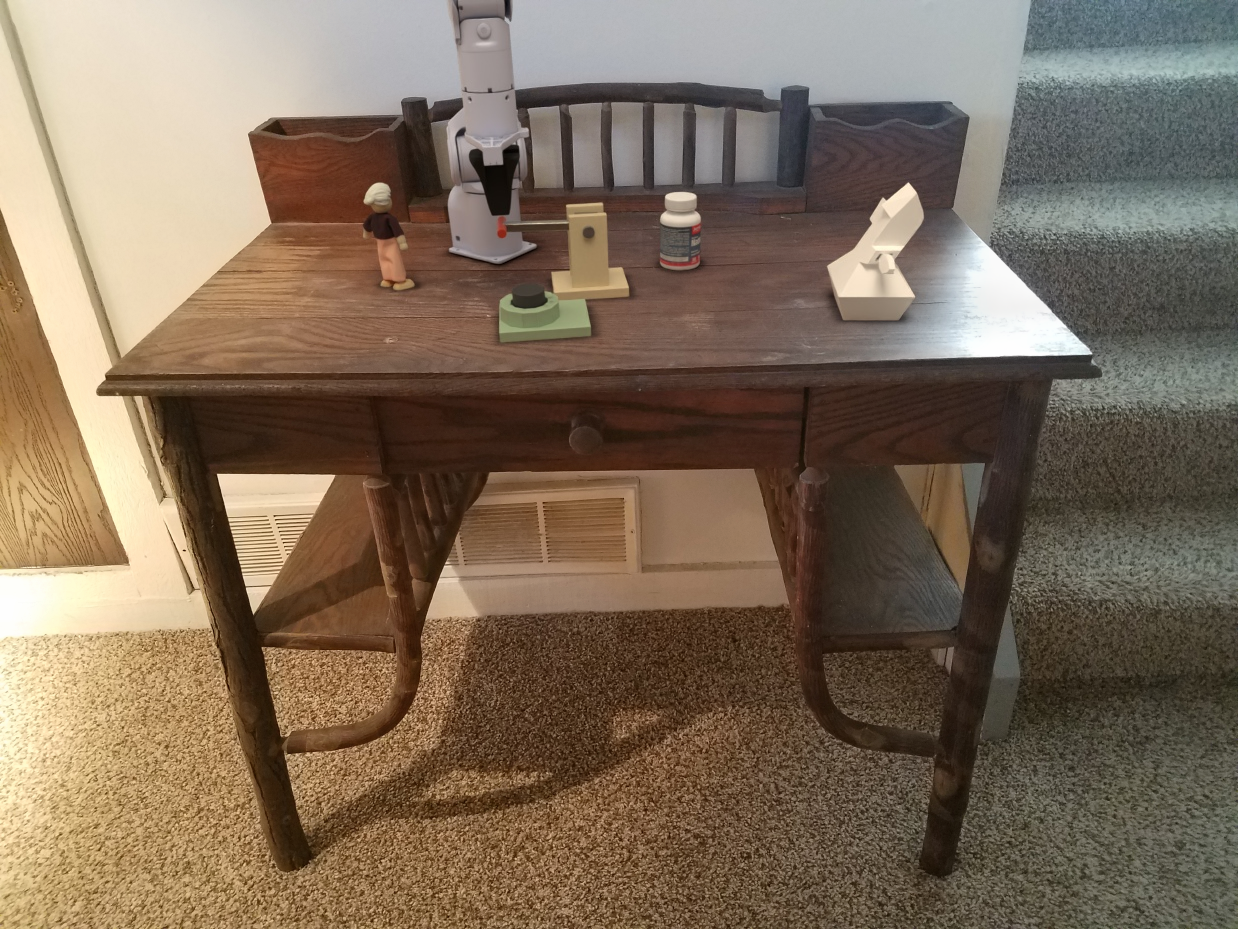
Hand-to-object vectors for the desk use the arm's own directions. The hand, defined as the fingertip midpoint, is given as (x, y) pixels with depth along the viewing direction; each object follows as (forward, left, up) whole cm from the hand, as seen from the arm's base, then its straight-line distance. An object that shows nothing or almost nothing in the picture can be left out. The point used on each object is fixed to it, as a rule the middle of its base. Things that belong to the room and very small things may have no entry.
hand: (500, 213), depth 101 cm
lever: (+4, +4, -3) cm, 6 cm away
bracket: (+7, +7, -10) cm, 14 cm away
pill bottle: (+12, +20, -10) cm, 25 cm away
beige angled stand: (+38, +19, -10) cm, 44 cm away
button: (+8, -6, -7) cm, 13 cm away
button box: (+10, -5, -10) cm, 15 cm away
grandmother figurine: (-15, -5, -10) cm, 19 cm away
